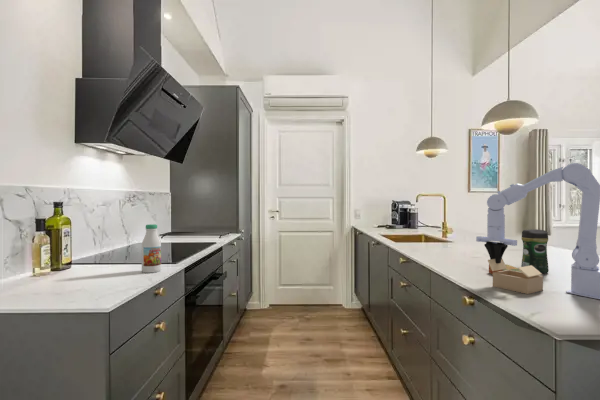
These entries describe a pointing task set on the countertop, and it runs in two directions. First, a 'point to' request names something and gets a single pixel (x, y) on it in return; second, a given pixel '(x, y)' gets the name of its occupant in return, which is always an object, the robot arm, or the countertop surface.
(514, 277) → the brown carton
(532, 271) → the flap
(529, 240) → the coffee jar
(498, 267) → the far flap
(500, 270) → the carton
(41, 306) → the countertop surface
